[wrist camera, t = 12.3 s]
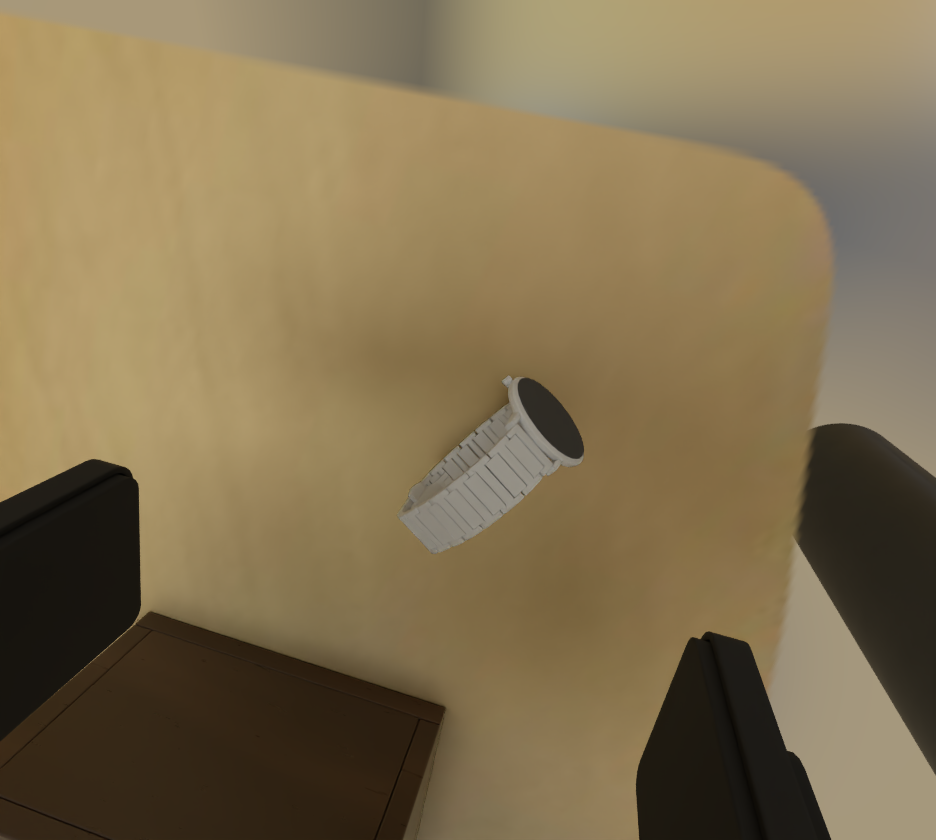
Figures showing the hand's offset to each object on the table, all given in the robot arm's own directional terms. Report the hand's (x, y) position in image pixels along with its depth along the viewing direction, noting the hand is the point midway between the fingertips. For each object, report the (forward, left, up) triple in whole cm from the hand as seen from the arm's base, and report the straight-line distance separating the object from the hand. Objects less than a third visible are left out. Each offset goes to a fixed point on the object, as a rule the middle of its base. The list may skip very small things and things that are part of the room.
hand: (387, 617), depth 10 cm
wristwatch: (0, 0, -10) cm, 10 cm away
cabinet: (+6, +19, -10) cm, 22 cm away
